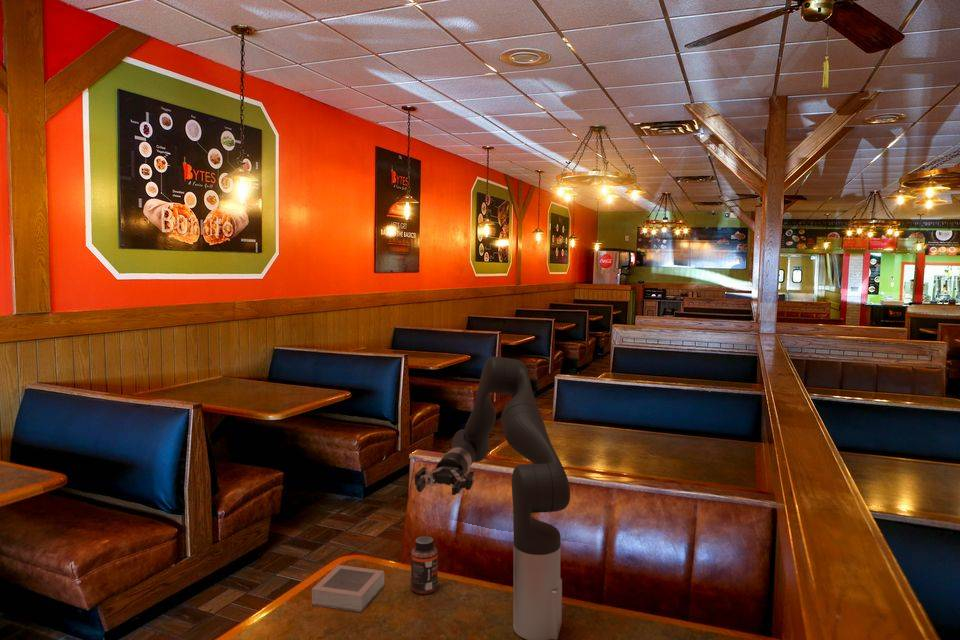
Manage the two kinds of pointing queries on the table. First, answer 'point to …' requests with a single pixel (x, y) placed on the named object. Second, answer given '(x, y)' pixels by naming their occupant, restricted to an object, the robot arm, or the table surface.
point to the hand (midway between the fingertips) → (436, 489)
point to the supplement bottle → (424, 566)
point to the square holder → (348, 588)
